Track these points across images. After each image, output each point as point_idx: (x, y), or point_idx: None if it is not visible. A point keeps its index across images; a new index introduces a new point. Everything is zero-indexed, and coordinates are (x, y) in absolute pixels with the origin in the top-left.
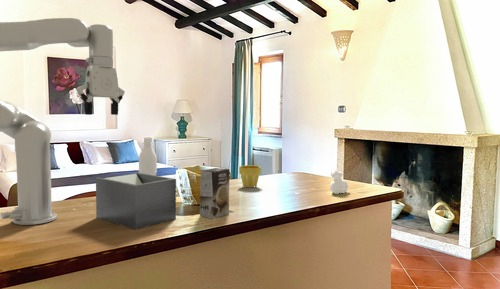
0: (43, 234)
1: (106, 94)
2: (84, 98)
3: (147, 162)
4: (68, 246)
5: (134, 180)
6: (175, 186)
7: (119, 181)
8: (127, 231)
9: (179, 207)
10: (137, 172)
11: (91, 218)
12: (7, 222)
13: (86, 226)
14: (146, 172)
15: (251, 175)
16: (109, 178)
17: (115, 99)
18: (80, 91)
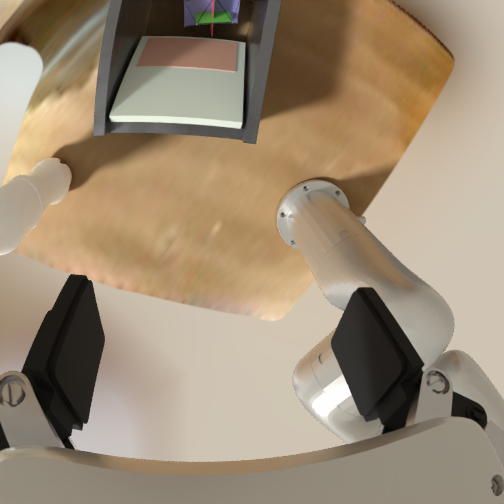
0: (365, 125)
1: (289, 498)
2: (459, 396)
3: (14, 197)
4: (385, 44)
5: (137, 95)
6: None
7: (263, 33)
8: None
9: (63, 58)
10: (94, 128)
11: None
12: None
13: (297, 93)
14: (32, 187)
15: None
16: (222, 116)
17: (43, 426)
18: (499, 436)
